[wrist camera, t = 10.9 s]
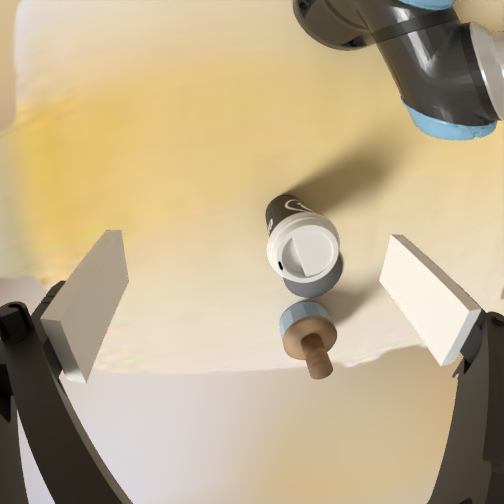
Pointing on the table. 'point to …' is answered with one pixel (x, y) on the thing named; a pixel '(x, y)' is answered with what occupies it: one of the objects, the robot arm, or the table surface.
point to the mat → (316, 283)
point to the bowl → (301, 313)
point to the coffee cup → (300, 240)
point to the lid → (311, 343)
